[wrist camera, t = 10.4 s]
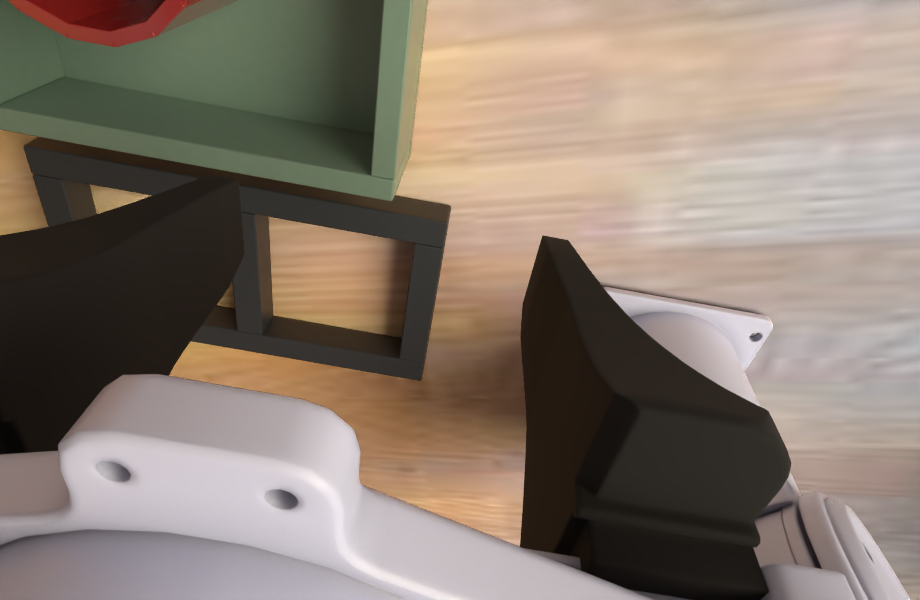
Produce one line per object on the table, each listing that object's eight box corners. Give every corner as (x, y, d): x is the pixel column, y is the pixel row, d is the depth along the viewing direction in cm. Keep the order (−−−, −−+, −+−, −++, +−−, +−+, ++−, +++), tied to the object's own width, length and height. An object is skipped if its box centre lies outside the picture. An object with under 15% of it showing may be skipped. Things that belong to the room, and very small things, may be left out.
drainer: (425, 360, 29) (421, 381, 27) (97, 303, 28) (78, 322, 27) (451, 205, 23) (448, 222, 22) (47, 131, 23) (22, 145, 22)
